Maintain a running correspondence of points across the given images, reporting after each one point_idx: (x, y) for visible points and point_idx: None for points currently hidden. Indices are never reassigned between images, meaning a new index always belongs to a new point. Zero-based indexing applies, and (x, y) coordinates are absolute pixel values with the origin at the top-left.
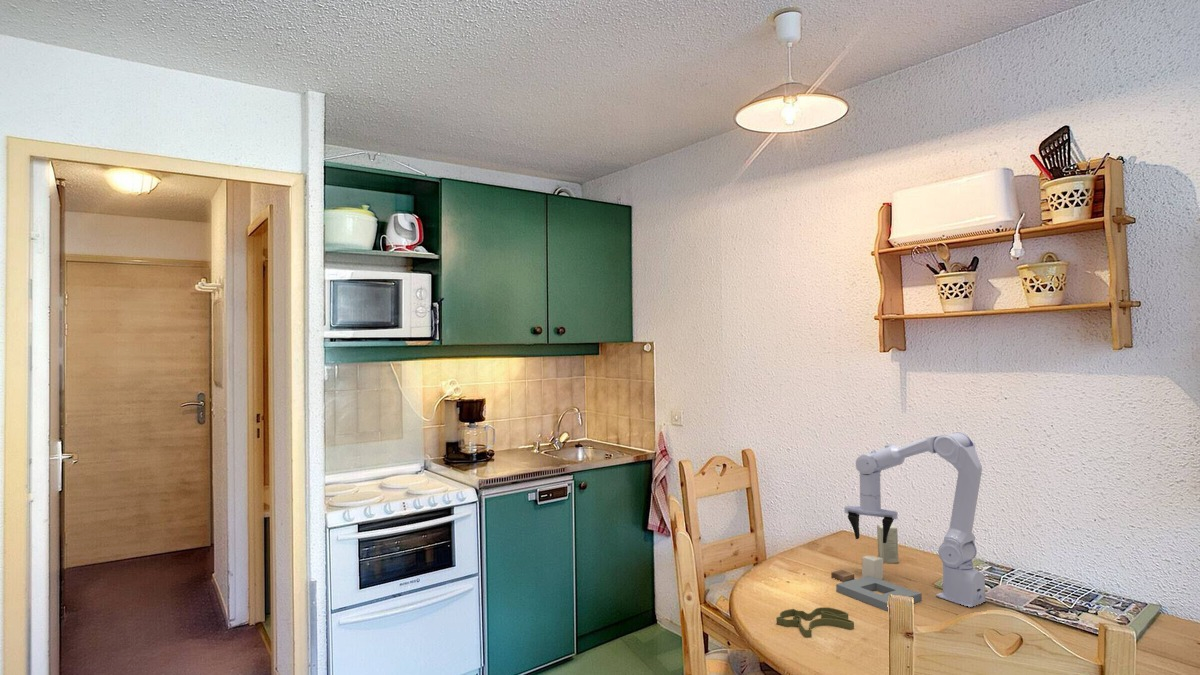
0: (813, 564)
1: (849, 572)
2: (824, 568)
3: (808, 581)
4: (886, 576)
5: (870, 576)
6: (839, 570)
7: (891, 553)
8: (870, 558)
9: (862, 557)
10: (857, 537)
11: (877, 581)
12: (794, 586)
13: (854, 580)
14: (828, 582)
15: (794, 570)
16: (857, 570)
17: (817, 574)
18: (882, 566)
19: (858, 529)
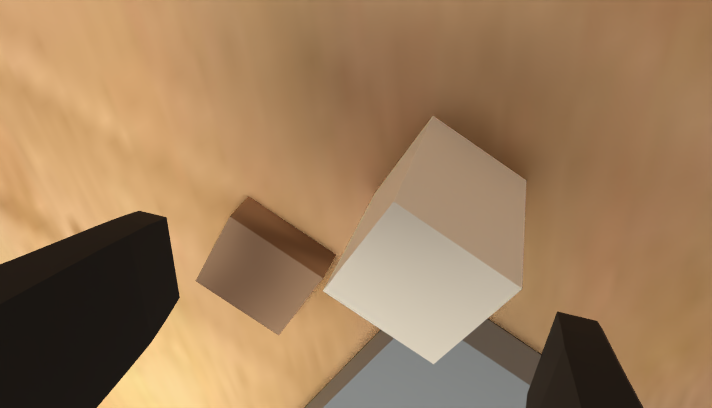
0: (24, 33)
1: (287, 254)
2: (114, 95)
3: None
4: (563, 99)
5: None
6: (223, 236)
7: None
8: (399, 314)
9: (328, 290)
10: (161, 321)
11: (476, 398)
12: (134, 394)
13: (345, 401)
14: (226, 326)
15: (21, 202)
16: (317, 34)
17: None
18: (520, 242)
19: (62, 317)
